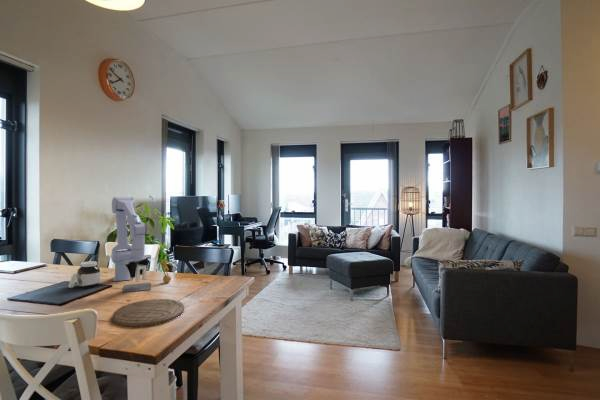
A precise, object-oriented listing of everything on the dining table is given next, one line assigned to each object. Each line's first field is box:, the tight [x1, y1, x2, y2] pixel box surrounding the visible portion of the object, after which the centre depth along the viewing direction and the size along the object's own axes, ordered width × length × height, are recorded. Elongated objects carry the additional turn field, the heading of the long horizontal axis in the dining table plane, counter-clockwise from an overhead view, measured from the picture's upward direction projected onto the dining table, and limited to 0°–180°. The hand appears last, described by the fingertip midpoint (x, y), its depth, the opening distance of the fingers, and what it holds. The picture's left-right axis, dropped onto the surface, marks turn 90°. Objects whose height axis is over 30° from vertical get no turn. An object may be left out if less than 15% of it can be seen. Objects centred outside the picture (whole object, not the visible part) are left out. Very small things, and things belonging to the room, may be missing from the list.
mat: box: [121, 282, 152, 294], centre depth 154 cm, size 12×12×1 cm
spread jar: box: [68, 260, 101, 289], centre depth 154 cm, size 12×11×12 cm
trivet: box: [112, 298, 185, 328], centre depth 122 cm, size 25×25×2 cm
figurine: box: [157, 259, 173, 284], centre depth 165 cm, size 8×6×12 cm
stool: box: [128, 263, 147, 283], centre depth 154 cm, size 5×5×7 cm
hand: (137, 276), depth 154 cm, fingers closed on stool, 5 cm apart
